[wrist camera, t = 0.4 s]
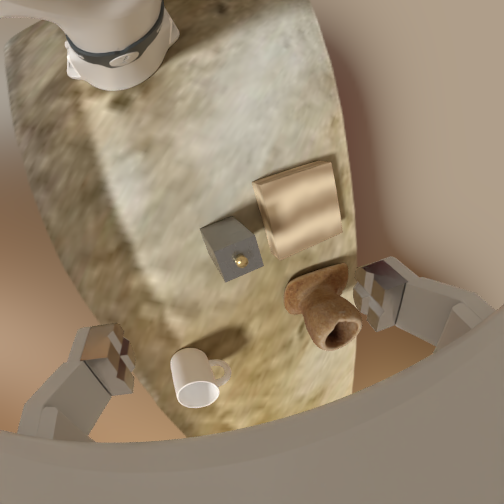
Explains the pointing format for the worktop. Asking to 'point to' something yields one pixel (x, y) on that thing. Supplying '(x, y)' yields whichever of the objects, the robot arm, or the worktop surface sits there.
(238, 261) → the block
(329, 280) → the brown piece
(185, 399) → the mug
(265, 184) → the maple stand
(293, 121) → the worktop surface
